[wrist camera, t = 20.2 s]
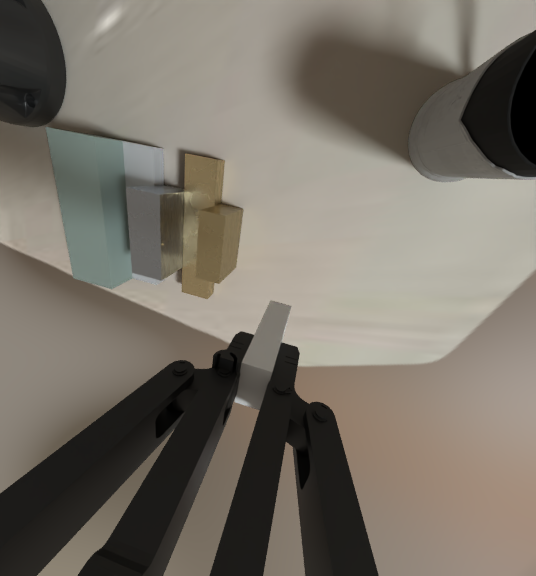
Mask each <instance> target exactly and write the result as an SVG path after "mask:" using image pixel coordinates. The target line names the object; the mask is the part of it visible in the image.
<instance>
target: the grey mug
mask: <svg viewBox="0 0 536 576" xmlns="http://www.w3.org/2000/svg"><path fill="white" fill-rule="evenodd" d="M408 150H409V156H410V159H411V161H412V164H413V165H414V167H415V168H416V170H417V171H418V172H419V173H421V174H422V175H423V176H425V177H426V178H428V179H431V180H434V181H438V182H454V181H459V180H463V179H465V178H488V179H524V180H527V179H536V30H535V31H533V32H532V33H530V34H527V35H525V36H523V37H521V38H519V39H518V40H516V41H515V42H513V43H511V44H510V45H508V46H507V47H505V48H504V49H503V50H501V51H500V52H498V53H497V54H496V55H494V56H493V57H492V58H490V59H489V60H487V61H486V62H485V63H483V64H482V65H481V66H479V67H478V68H477V69H475V70H474V71H472V72H471V73H470V74H468V75H467V76H466V77H464V78H461V79H457V80H455V81H453V82H451V83H449V84H447V85H445V86H444V87H442V88H441V89H439V90H438V91H437V92H435V93H434V94H433V95H432V96H431V97H430V98H429V99H428V100H427V101H426V102H425V103H424V104H423V106H422V107H421V109H420V110H419V112H418V113H417V115H416V117H415V119H414V121H413V123H412V126H411V129H410V133H409V139H408Z"/></svg>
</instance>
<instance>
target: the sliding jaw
mask: <svg viewBox="0 0 536 576" xmlns="http://www.w3.org/2000/svg"><path fill="white" fill-rule="evenodd" d="M224 163H225V161H223V160H218V159H213V158H208V157H203V156H198V155H192V154H185V179H184V220H183V261H182V292H184V293H187V294H191V295H195V296H198V297H202V298H205V299H208V298H209V297H210V296H211V295H212V294H213V290H214V283H218V284H219V283H220V282H221V281H222V280H224V279H225V278H226V277H227V276H228V275H229V274H230V273H231V272H232V271H233V270H234V269H235V268H236V263H237V255H238V247H239V239H240V231H241V223H242V215H243V209H241V208H236V207H232V206H227V205H223V204H221V198H222V186H223V175H224Z"/></svg>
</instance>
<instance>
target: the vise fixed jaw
mask: <svg viewBox="0 0 536 576" xmlns="http://www.w3.org/2000/svg"><path fill="white" fill-rule="evenodd" d="M46 132H47V138H48V143H49V148H50V154H51V159H52V165H53V170H54V175H55V181H56V186H57V192H58V197H59V202H60V208H61V213H62V219H63V224H64V230H65V235H66V240H67V246H68V251H69V257H70V262H71V267H72V273H73V278H74V279H78V280H81V281H85V282H89V283H92V284H96V285H99V286H103V287H106V288H110V289H113V288H115V287H117V286H119V285H121V284H122V283H124V282H126V281H128V280H130V279H132V278H133V279H137V280H141V281H144V282H148V283H151V284H155V285H157V284H159V283H161V282H162V281H164V280H165V279H163V280H162V281H160V280H157V279H153V278H149V277H146V276H142V275H138V274H134V273H132V266H131V252H130V239H129V225H128V211H127V198H126V187H137V186H153V185H164V156H163V149H162V148H157V147H152V146H147V145H142V144H137V143H132V142H127V141H122V140H117V139H112V138H107V137H102V136H97V135H91V134H85V133H79V132H73V131H67V130H61V129H55V128H49V127H46Z"/></svg>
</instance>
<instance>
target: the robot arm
mask: <svg viewBox="0 0 536 576" xmlns="http://www.w3.org/2000/svg"><path fill="white" fill-rule="evenodd" d="M65 87H66V68H65V60H64V55H63V50H62V46H61V42H60V39H59V36H58V33H57V30H56V28H55V25H54V23H53V21H52V19H51V17H50V15H49V13H48V11H47V9H46V7H45V6H44V4H43V2H42V1H41V0H0V121H3V122H6V123H10V124H15V125H21V126H28V127H38V126H42V125H45V124H47V123H48V122H50V121H51V120H52V119H53V118H54V117H55V116H56V114H57V113H58V111H59V109H60V107H61V105H62V102H63V99H64V94H65ZM290 310H291V306H289V305H286V304H282V303H278V302H275V301H270V303H269V305H268V307H267V309H266V312H265V314H264V316H263V318H262V320H261V322H260V324H259V326H258V329H257V331H256V333H255V335H252V334H249V333H245V332H242V331H241V332H239V333H238V334H236V335H235V336H234V338H233V340H232V342H231V343H230V345H229V347H228V348H227V350H220V351H218V352H216V353H215V354H214V355H213V364H212V368H209V369H195V368H194V366H193V364H191V363H190V362H188V361H185V360H184V361H183V360H180V361H175V362H173V363H171V364H169V365H168V366H167V367H165V368H164V369H163V370H161V371H160V372H159V373H157V374H156V375H155V376H154V377H152V378H151V379H150V380H148V381H147V382H146V383H144V384H143V385H142V386H140V387H139V388H138V389H137V390H135V391H134V392H133V393H131V394H130V395H129V396H127V397H126V398H125V399H124V400H122V401H121V402H119V403H118V404H117V405H116V406H114V407H113V408H112V409H110V410H109V411H108V412H106V413H105V414H104V415H103V416H101V417H100V418H99V419H97V420H96V421H95V422H93V423H92V424H91V425H89V426H88V427H87V428H86V429H84V430H83V431H82V432H80V433H79V434H78V435H76V436H75V437H74V438H72V439H71V440H70V441H68V442H67V443H66V444H65V445H63V446H62V447H61V448H59V449H58V450H57V451H55V452H54V453H53V454H51V455H50V456H49V457H47V458H46V459H45V460H44V461H42V462H41V463H40V464H38V465H37V466H36V467H34V468H33V469H32V470H30V471H29V472H28V473H27V474H25V475H24V476H23V477H21V478H20V479H19V480H17V481H16V482H15V483H13V484H12V485H11V486H10V487H8V488H7V489H6V490H4V491H3V492H2V493H0V576H37V575H38V573H40V572H41V571H42V569H43V568H44V567H45V566H46V565H47V564H48V563H49V562H50V561H51V560H52V559H53V558H54V557H55V556H56V554H57V553H58V552H59V551H60V550H61V549H62V548H63V547H64V546H65V545H66V544H67V543H68V542H69V541H70V540H71V539H72V538H73V536H74V535H75V534H76V533H77V532H78V531H79V530H80V529H81V528H82V527H83V526H84V525H85V523H86V522H87V521H88V520H89V519H90V518H91V517H92V516H93V515H94V514H95V513H96V512H97V511H98V510H99V509H100V508H101V507H102V506H103V504H104V503H105V502H106V501H107V500H108V499H109V498H110V497H111V496H112V495H113V494H114V493H115V492H116V491H117V490H118V488H119V487H120V486H121V485H122V484H123V483H124V482H125V481H126V480H127V479H128V478H129V477H130V476H131V475H132V473H133V472H134V471H135V470H136V469H137V468H138V467H139V466H140V465H141V464H142V463H143V462H144V461H145V460H146V459H147V458H148V456H149V455H150V454H151V453H152V452H153V451H154V450H155V449H156V448H157V447H158V446H159V445H160V444H161V443H162V442H163V441H164V439H165V438H166V437H167V436H168V435H169V434H170V433H171V432H172V431H173V430H174V429H175V430H174V432H173V433H172V435H171V437H170V438H169V440H168V442H167V443H166V445H165V446H164V448H163V450H162V451H161V453H160V455H159V457H158V458H157V460H156V462H155V463H154V465H153V466H152V468H151V470H150V471H149V473H148V475H147V476H146V478H145V480H144V481H143V483H142V485H141V486H140V488H139V490H138V491H137V493H136V495H135V496H134V498H133V500H132V501H131V503H130V505H129V506H128V508H127V509H126V511H125V513H124V514H123V516H122V518H121V519H120V521H119V523H118V524H117V526H116V528H115V529H114V531H113V533H112V534H111V536H110V538H109V539H108V541H107V542H106V544H105V545H104V546H103V547H102V548H101V549H99V550H98V551H97V552H95V553H94V554H93V555H92V557H90V559H89V560H88V561H87V562H86V564H85V565H84V567H83V568H82V570H81V571H80V573H79V574H78V576H163V574H164V572H165V570H166V567H167V565H168V563H169V560H170V558H171V555H172V553H173V550H174V548H175V546H176V543H177V541H178V538H179V536H180V533H181V531H182V529H183V526H184V524H185V522H186V519H187V517H188V514H189V512H190V509H191V507H192V505H193V502H194V500H195V497H196V495H197V493H198V490H199V488H200V485H201V483H202V480H203V478H204V476H205V473H206V471H207V468H208V466H209V463H210V461H211V459H212V456H213V453H214V451H215V449H216V446H217V444H218V442H219V439H220V437H221V434H222V432H223V430H224V427H225V425H226V422H227V420H228V418H229V415H230V412H231V409H232V404H233V401H234V399H235V402H236V403H239V404H242V405H245V406H248V407H252V408H254V409H258V410H260V411H259V414H258V417H257V421H256V424H255V427H254V431H253V434H252V438H251V441H250V444H249V447H248V451H247V454H246V457H245V461H244V464H243V467H242V471H241V474H240V477H239V480H238V484H237V487H236V490H235V494H234V497H233V500H232V504H231V507H230V510H229V514H228V517H227V520H226V524H225V527H224V530H223V533H222V537H221V540H220V543H219V547H218V550H217V553H216V556H215V560H214V563H213V566H212V570H211V573H210V576H263V572H264V566H265V561H266V555H267V549H268V543H269V537H270V531H271V525H272V519H273V514H274V508H275V502H276V496H277V490H278V483H279V478H280V472H281V466H282V460H283V455H284V449H285V443H286V442H287V443H289V444H290V445H291V446H293V455H294V465H295V475H296V485H297V495H298V505H299V516H300V526H301V536H302V546H303V557H304V567H305V576H378V572H377V568H376V564H375V561H374V557H373V554H372V550H371V546H370V543H369V539H368V535H367V532H366V528H365V524H364V521H363V517H362V514H361V510H360V506H359V503H358V499H357V495H356V492H355V488H354V484H353V480H352V477H351V473H350V470H349V466H348V462H347V459H346V455H345V451H344V448H343V444H342V440H341V437H340V434H339V429H338V426H337V422H336V419H335V415H334V413H333V411H332V410H331V409H330V408H329V407H328V406H327V405H325V404H323V403H320V402H312V403H310V404H308V403H307V402H305V401H304V400H302V399H301V398H300V397H299V396H298V395H297V393H296V392H295V388H294V382H295V377H296V371H297V365H298V360H299V354H300V353H299V351H298V348H297V347H295V346H292V345H288V344H285V343H282V340H283V337H284V333H285V329H286V325H287V321H288V317H289V314H290Z"/></svg>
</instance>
